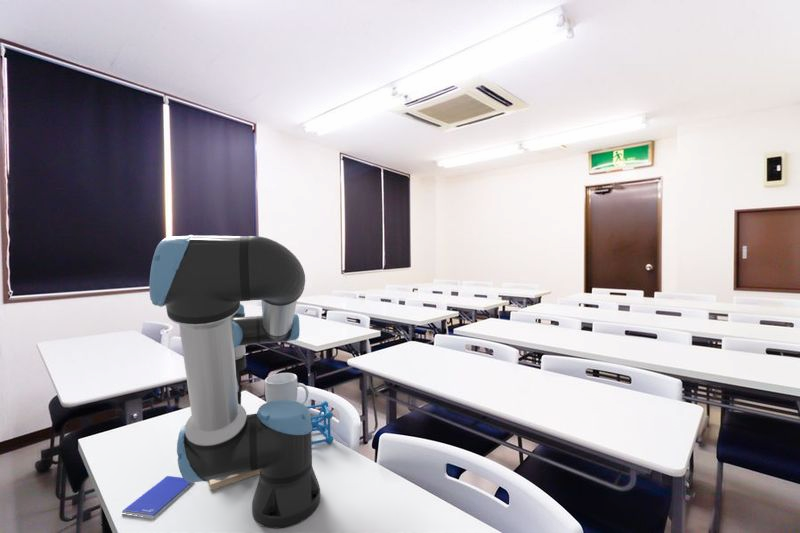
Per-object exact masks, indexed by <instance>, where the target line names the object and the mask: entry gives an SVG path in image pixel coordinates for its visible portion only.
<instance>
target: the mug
mask: <svg viewBox="0 0 800 533" xmlns="http://www.w3.org/2000/svg"><path fill="white" fill-rule="evenodd" d="M300 387H302V388H303V389H304V391H305V398H304V399H303V400H302V401H301V402H300V403H302V404H303V405H305V404H306V402H308V399H309V396H310V394H309V389H308V387H307V385H305V384H304V383H301V382H298V376H297V375H296V374H295V373H292V372H280V373H275V374H272V375H269V376H267V377H266V378H265V379H264V388H265V394H264V395H265V401H266V403H269V402H271V401H276V400H291V401H296V402H297V399H298V388H300Z"/></svg>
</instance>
